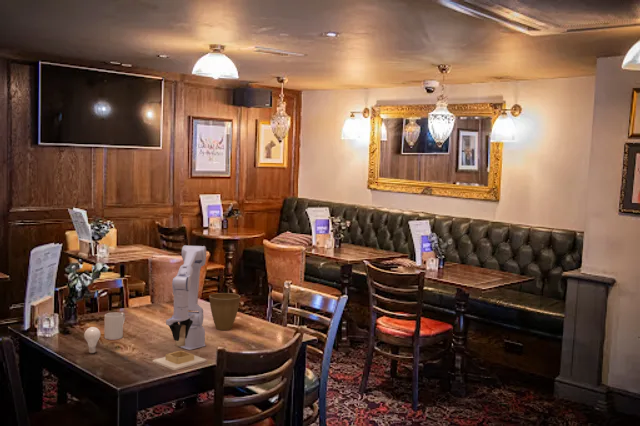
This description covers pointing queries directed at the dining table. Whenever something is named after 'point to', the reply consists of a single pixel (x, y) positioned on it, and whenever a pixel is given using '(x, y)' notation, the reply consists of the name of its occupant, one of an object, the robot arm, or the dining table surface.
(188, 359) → the socket plate
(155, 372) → the dining table surface
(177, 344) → the birch peg
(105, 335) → the mug
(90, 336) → the lightbulb
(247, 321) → the dining table surface
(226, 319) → the plant pot
